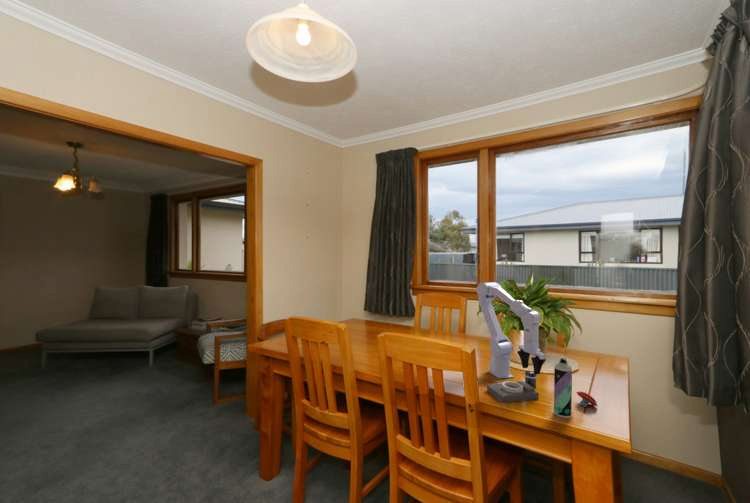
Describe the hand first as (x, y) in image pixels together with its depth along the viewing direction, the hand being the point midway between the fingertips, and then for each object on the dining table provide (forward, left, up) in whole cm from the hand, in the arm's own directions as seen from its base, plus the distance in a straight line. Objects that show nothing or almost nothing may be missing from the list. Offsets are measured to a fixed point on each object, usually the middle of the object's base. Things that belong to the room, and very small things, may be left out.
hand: (530, 370), depth 144 cm
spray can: (+24, -5, -7) cm, 25 cm away
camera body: (+6, -13, -7) cm, 16 cm away
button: (+20, +9, -7) cm, 23 cm away
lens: (0, 0, -7) cm, 7 cm away
